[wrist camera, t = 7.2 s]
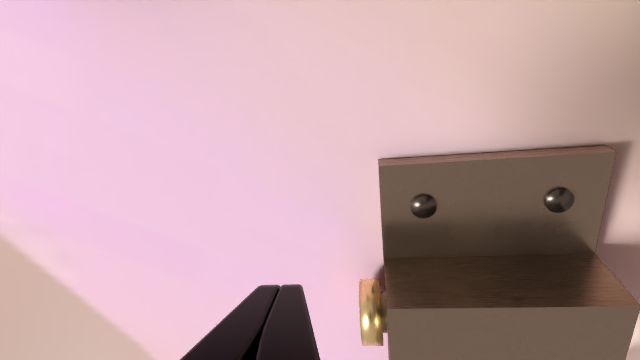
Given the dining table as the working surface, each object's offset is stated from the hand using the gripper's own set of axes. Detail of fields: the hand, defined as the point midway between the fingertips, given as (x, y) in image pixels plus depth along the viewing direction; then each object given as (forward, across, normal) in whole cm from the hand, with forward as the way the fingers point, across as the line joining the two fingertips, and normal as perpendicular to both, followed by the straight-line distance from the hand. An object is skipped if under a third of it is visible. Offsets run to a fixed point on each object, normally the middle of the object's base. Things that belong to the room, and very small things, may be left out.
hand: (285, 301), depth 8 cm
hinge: (+12, -7, +10) cm, 17 cm away
